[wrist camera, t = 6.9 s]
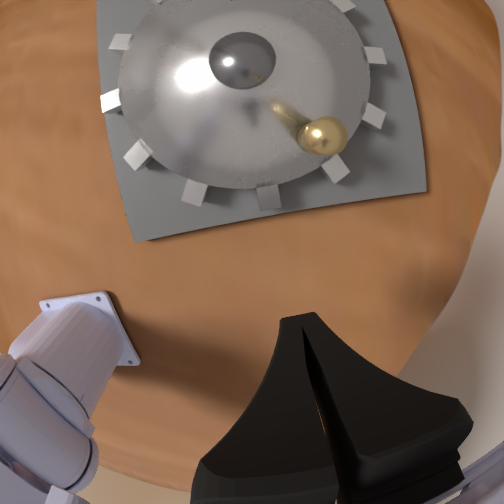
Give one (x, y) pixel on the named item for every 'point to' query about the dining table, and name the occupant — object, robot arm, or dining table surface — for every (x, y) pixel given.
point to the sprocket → (244, 91)
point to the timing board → (291, 193)
